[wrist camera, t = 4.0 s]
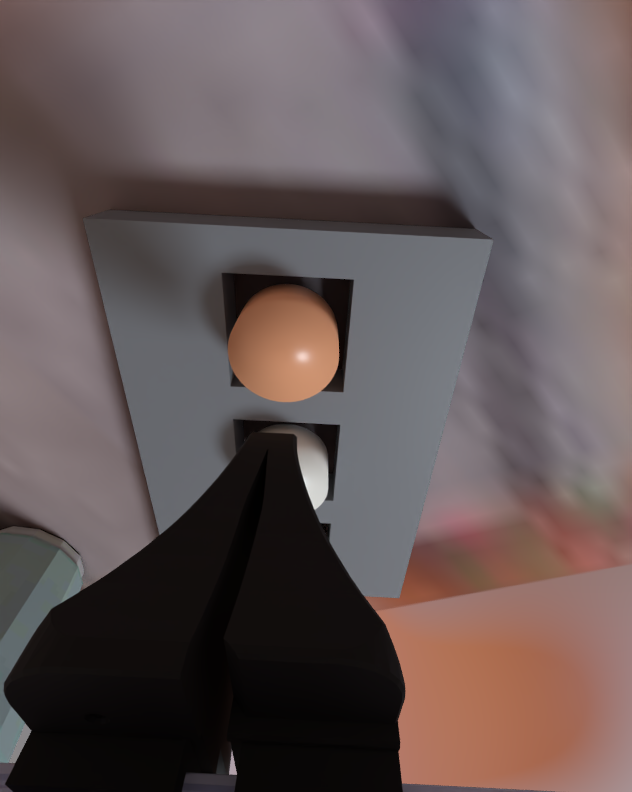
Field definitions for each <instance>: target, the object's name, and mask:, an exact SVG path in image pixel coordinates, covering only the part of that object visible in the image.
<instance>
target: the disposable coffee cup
mask: <svg viewBox="0 0 632 792" xmlns="http://www.w3.org/2000/svg"><path fill="white" fill-rule="evenodd" d="M83 573H84V569H83V565H82V561H81V557H80V555H78V554H77V553H76V552H75V551H74V550H73V549H72V548H71V547H70V546H69V545H68V544H67V543H66V542H65V541H64V540H62V539H59V538H57V537H55V536H53V535H51V534H48V533H46V532H44V531H42V530H40V529H32V528H24V527H16V526H12V527H9V528H6V529H2V530H0V763H9V761H10V758H11V756H12V754H13V751H14V749H15V746H16V744H17V741H18V739H19V737H20V734H21V732H22V729H23V727H24V724H25V722H24V721H23V720H22V719H21V717H20V716H19V715H18V714H17V713H16V712H15V710H14V709H13V708H12V707H11V706H10V704H9V703H8V701H7V699H6V697H5V695H4V691H3V690H4V682H5V680H6V679H7V677H8V675H9V674H10V672H11V670H12V669H13V667H14V665H15V664H16V662H17V660H18V659H19V657H20V655H21V654H22V652H23V650H24V649H25V647H26V645H27V644H28V642H29V640H30V639H31V637H32V636H33V634H34V632H35V631H36V629H37V628H38V627H39V625H40V624H41V622H42V621H43V620H44V618H45V617H46V616H47V614H48V613H49V611H50V610H51V609H52V608H53V607H55V606H57V605H58V604H60V603H62V602H64V601H65V600H67V599H68V598H70V597H72V596H73V595H75V594H77V593H78V592H79V591H80V589H81V586H82V584H83V582H82V576H83Z"/></svg>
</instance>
